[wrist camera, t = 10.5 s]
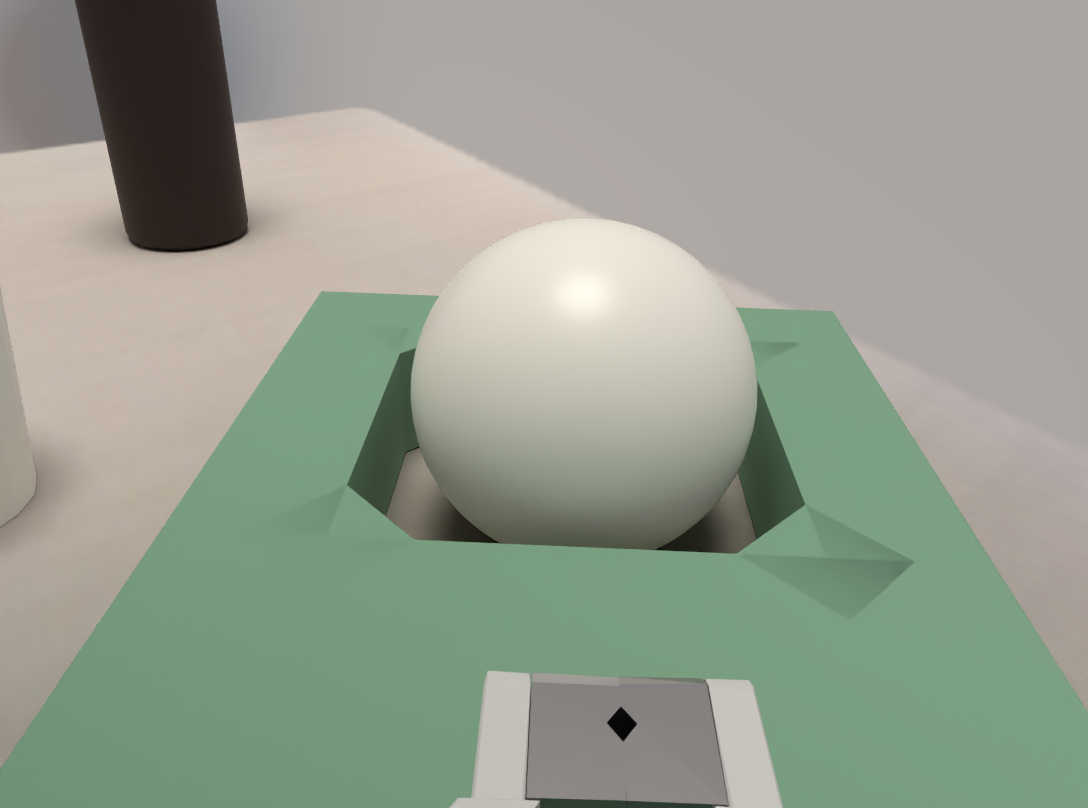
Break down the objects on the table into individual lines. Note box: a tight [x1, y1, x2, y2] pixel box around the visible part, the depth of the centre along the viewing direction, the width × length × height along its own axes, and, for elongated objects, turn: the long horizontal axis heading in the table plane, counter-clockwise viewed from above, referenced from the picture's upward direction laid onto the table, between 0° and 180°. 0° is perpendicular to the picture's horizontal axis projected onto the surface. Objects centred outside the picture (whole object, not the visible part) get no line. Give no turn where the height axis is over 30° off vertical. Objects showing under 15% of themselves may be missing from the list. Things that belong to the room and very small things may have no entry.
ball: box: [410, 218, 757, 550], centre depth 25 cm, size 10×10×10 cm
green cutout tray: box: [0, 291, 1088, 808], centre depth 21 cm, size 32×20×4 cm, turn 178°
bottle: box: [75, 0, 248, 250], centre depth 46 cm, size 7×7×20 cm
